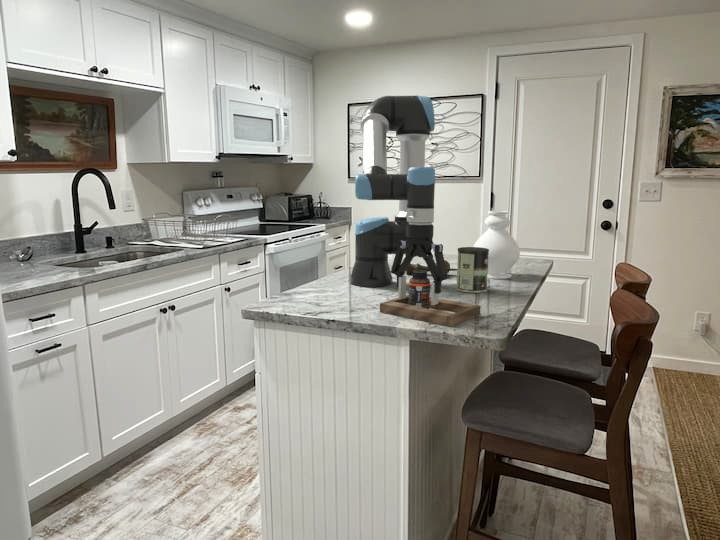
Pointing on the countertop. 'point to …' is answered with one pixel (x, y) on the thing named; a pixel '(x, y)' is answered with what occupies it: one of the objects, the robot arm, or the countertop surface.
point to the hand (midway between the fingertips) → (417, 301)
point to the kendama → (425, 268)
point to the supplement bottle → (419, 289)
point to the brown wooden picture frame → (432, 311)
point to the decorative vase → (499, 245)
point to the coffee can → (472, 269)
